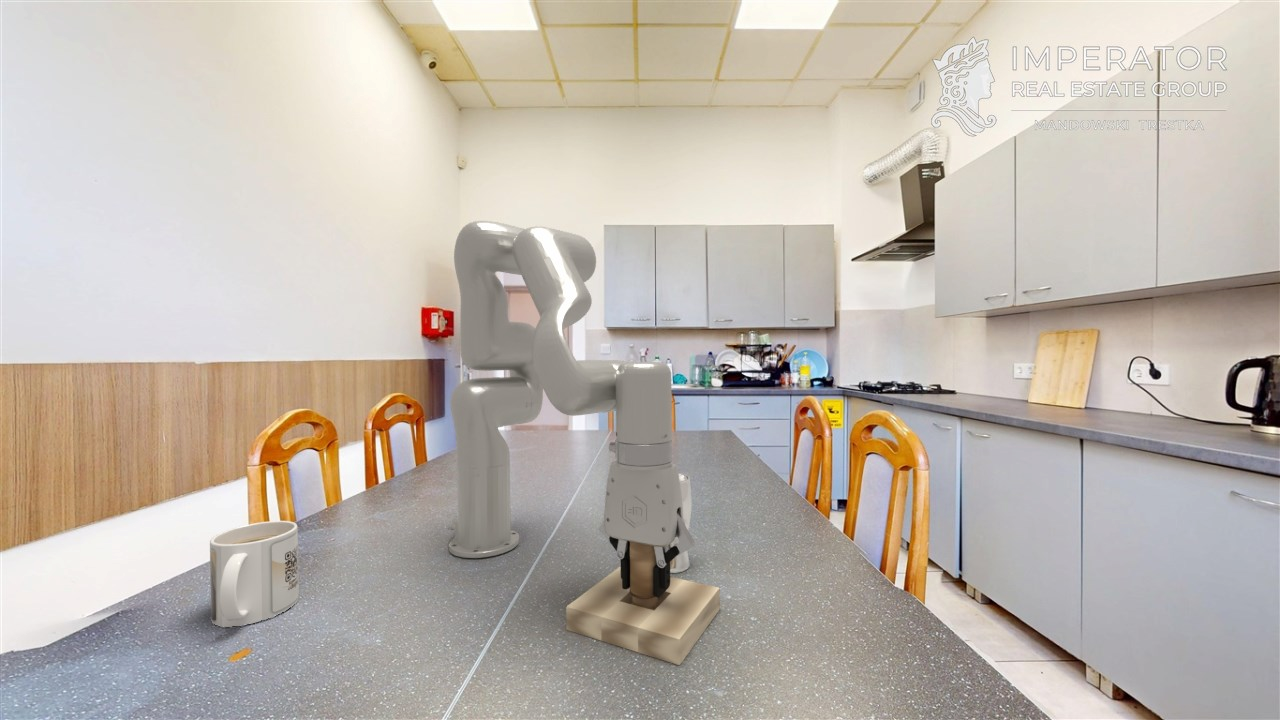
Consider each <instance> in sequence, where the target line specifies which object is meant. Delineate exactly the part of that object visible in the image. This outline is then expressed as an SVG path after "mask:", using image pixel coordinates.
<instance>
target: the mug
mask: <svg viewBox="0 0 1280 720" xmlns="http://www.w3.org/2000/svg"><path fill="white" fill-rule="evenodd" d="M298 529H299V528H298V524H297V523H296V522H293V521H290V520H272V521H271V520H270V521H260V522H255V523H250V524H245V525H241V526H238V527H234V528H231V529H228V530H224V531H222V532H220V533H218V534H216V535H214V536H213V537H211V539H210V540H209V560H210V561H209V569H210V570H209V571H210V572H209V574H210V576H209V577H210V582H209V583H210V621H212V622H211V623H212V624H213V623H214V624H215V625H218V626H224V627H223V628H225V627H230V628H232V627H231V626H240V625H244V624H249V623H254V622H257V621H261V620H264V619H267V618H269V617H272V616H274V615H277V614H278V613H281V612H283V611H285V610H287V609H288V608H290V607H291V606H293V605H294V604H295V603H296V602H299V596H300V595H299V594H300V592H299V590H300V589H299V532H298V531H299V530H298ZM296 604H297V603H296ZM296 604H295V605H296ZM295 605H294V606H295ZM294 606H293V607H294ZM214 624H213V625H214ZM215 625H214V626H215ZM218 626H217V627H218Z"/></svg>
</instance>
